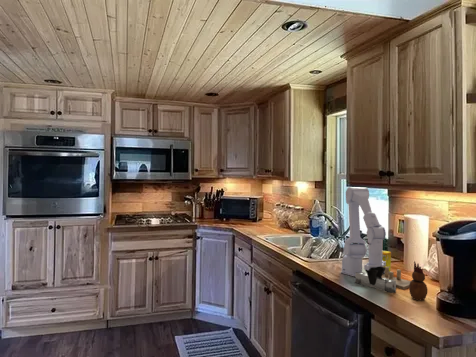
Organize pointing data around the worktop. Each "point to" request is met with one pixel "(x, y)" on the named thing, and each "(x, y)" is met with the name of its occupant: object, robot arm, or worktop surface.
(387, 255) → the supplement box
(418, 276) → the wooden figurine
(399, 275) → the rack
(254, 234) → the worktop surface
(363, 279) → the grey long bar
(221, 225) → the worktop surface
